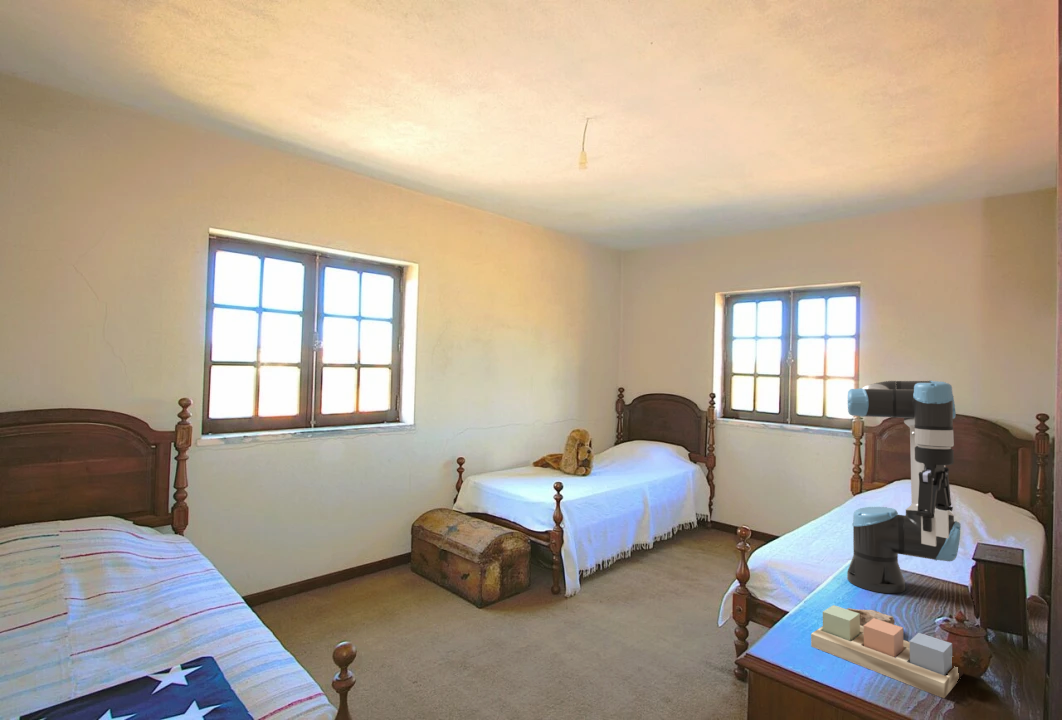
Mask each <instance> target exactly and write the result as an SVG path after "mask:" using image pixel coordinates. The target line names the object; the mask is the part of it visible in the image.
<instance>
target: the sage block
mask: <svg viewBox="0 0 1062 720" xmlns="http://www.w3.org/2000/svg"><path fill="white" fill-rule="evenodd" d="M847 609H848V608H843V607H841V606H838V605H834V604H833V605H831V606H829V607H828V608H826V609H824V610H822V626H823V632H826V633H829V634H832V635H834V636H837V637H840V638H843V639H845V640H848V641H852V640H853V639H855V638H856V637H857V636H859V635H860V614H859V613H856V612H853V611H850V610H847Z"/></svg>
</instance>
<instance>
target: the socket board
mask: <svg viewBox="0 0 1062 720" xmlns="http://www.w3.org/2000/svg"><path fill="white" fill-rule="evenodd" d="M810 644H811V645H810V647H812V648H813V649H817V650H819V651H822V652H824V653H828V654H830V655H833V656H834V657H837V658H840V659H842V660H844V661H848V662H850V663H852V664H855V665H857V666H859V667H862V668H865V669H868V670H871V671H873V672H876V673H878V674H881V675H883V676H885V677H886V676H887V677H888V678H891V679H893V680H896V681H899V682H901V683H904V684H905V685H909V686H912V687H914V688H916V689H919V690H921V691H923V692H926V693H929V694H932V695H934V696H937V697H940V698H942V699H945V698H946V697H947V696H948V695H949V693H951V691H952V689H953V688H954V687H955V686H956V684H958V682H959V681H958V679H959V673H958V667H955V666H954V668H953V669H952V670H951V671H950V672H949V673H947V674H948V675H945V676H944V675H941V674H939V673H936V672H933V671H930V670H928V669H925V668H922V667H919V666H917V665H914V664H911V663H910V641H907V640H906V639H903V648H904V650H903V651H902V652H901V653H899V654H898V655H897V656H896V657H892V656H889V655H886V654H884V653H881V652H878V651H875V650H873V649H870V648H867V647H864V626H861V625H860V635H859V636H857V637H856V638H855V639H853V640H852V641H848V640H845V639H843V638H840V637H837V636H834V635H832V634H829V633H826V632H823V625H822V626H821V627H819V628H818V629H816V630H815V631H813V632H811V634H810ZM957 681H958V682H957Z"/></svg>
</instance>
